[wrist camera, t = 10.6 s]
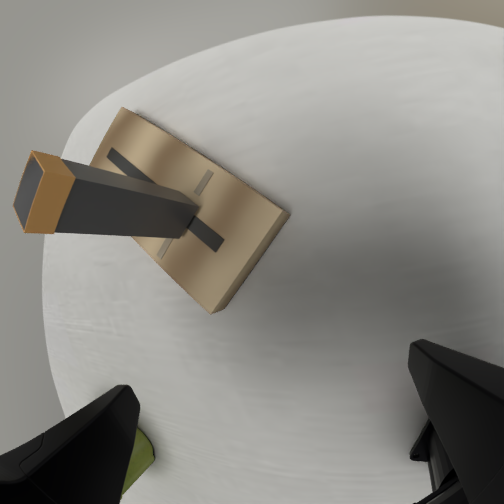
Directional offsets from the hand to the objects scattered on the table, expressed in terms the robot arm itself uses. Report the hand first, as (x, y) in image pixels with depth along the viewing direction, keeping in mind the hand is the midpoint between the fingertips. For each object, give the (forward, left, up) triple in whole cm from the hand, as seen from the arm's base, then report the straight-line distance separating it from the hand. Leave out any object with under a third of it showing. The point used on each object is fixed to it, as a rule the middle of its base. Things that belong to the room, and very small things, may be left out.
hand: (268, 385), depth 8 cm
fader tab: (+4, +10, -8) cm, 14 cm away
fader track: (+6, +13, -11) cm, 18 cm away
